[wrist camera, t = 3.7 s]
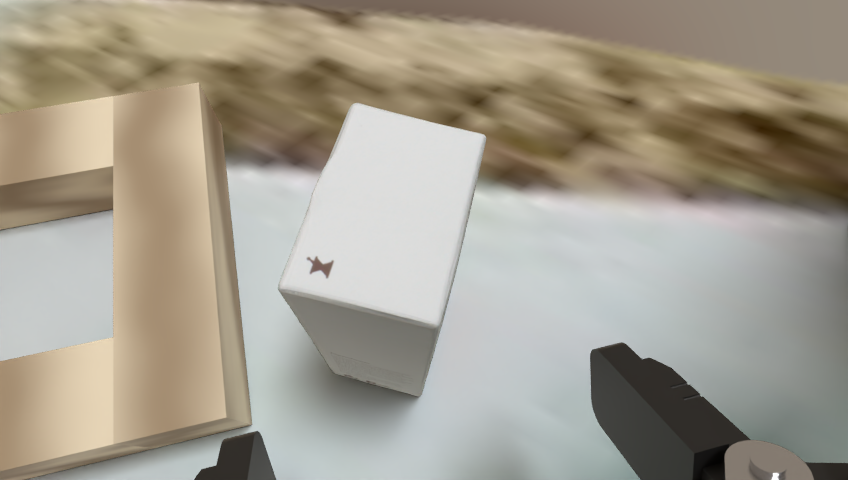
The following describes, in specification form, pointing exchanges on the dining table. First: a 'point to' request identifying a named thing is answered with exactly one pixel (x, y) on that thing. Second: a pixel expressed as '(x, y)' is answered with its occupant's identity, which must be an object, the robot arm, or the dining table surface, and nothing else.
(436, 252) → the skincare box
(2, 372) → the socket block
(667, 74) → the dining table surface
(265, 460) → the robot arm
